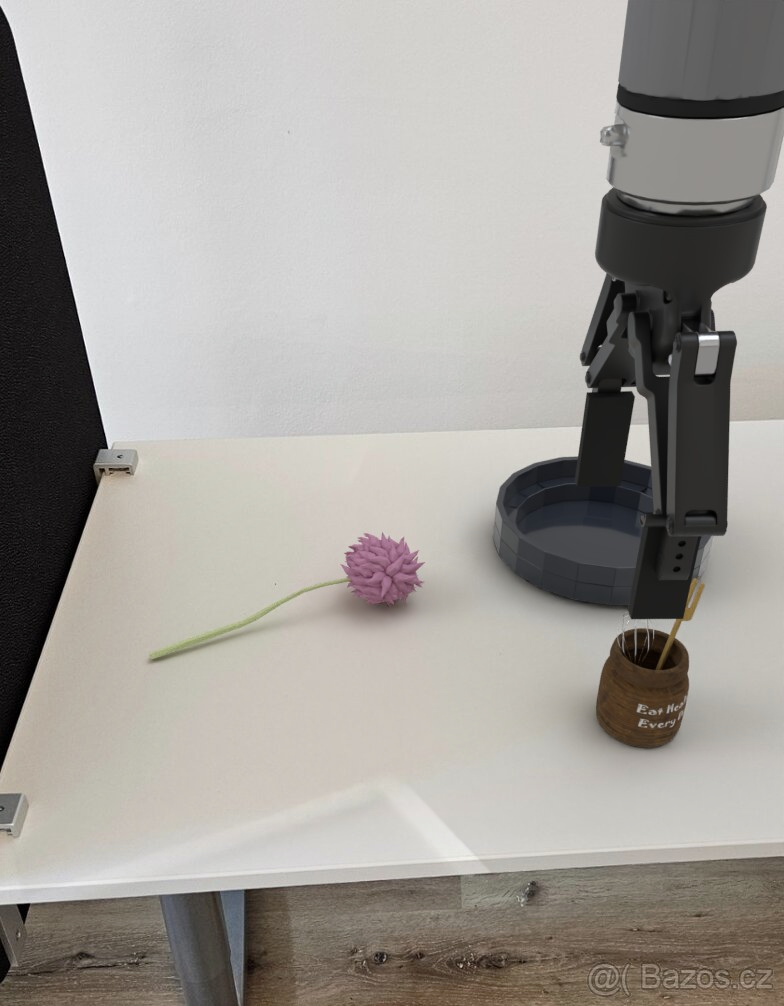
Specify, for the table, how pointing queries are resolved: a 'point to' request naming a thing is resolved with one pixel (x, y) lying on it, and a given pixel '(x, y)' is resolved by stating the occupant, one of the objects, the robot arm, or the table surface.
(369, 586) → the artificial flower
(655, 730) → the utensil holder
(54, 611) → the table surface
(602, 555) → the bowl
